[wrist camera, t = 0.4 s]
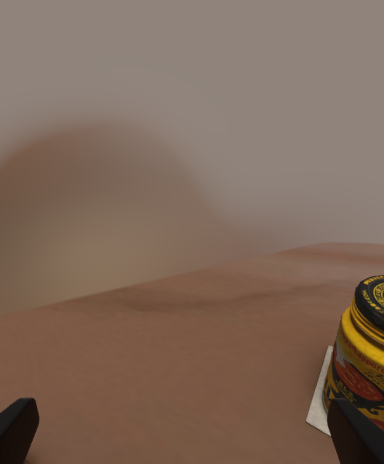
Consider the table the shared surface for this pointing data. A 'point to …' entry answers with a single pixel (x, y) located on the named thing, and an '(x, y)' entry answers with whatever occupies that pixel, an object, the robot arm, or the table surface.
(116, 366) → the table surface
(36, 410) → the robot arm
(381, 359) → the condiment
